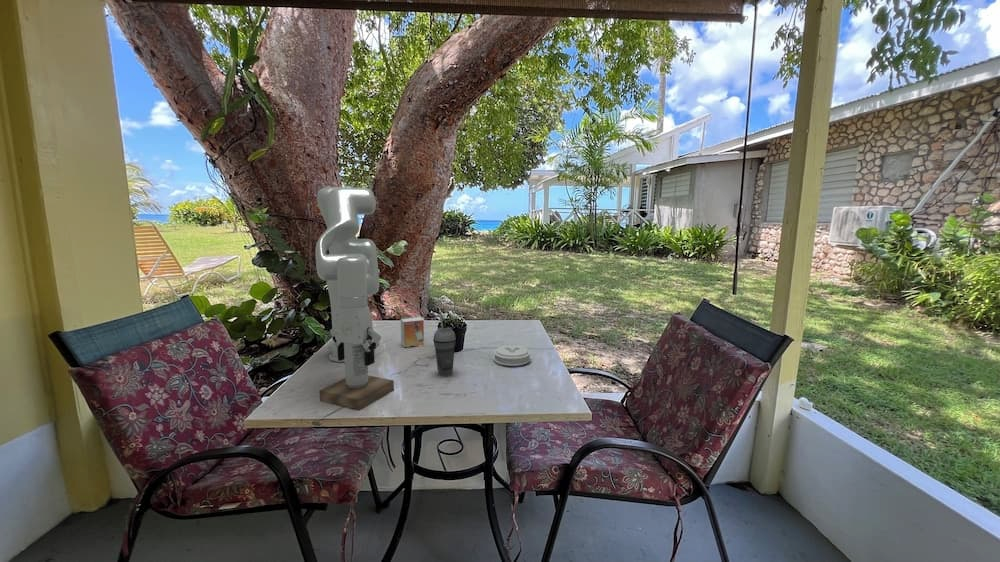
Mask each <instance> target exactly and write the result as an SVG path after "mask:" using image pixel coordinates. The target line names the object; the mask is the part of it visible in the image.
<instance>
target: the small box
mask: <svg viewBox="0 0 1000 562" xmlns="http://www.w3.org/2000/svg"><path fill="white" fill-rule="evenodd" d="M424 326H425V324H424V319H423V318H422V317H420V316H419V317H409V318H400V343H401V346H402V345H403V346H402V347H403V348H404V347H407V348H411V347H410V346H416V347H420V346H419V345H424V346H425V335H424V333H425V332H424V331H425V330H424V329H425V328H424Z"/></svg>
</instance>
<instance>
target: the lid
mask: <svg viewBox="0 0 1000 562" xmlns="http://www.w3.org/2000/svg"><path fill="white" fill-rule="evenodd" d="M493 354H494V358H493V360H494V362H495V363H497V364H499V365H504V366H509V367H511V366H512V367H513V366H514V367H515V366H522V365H526V364H528V363H530V361H531V357H530V355H531V351H530V350H529V349H528V347H527V348H526V347H525V346H522V345H516V344H515V345H509V344H508V345H502V346H499V347H498V348H496V349H495V350H494V352H493Z"/></svg>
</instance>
